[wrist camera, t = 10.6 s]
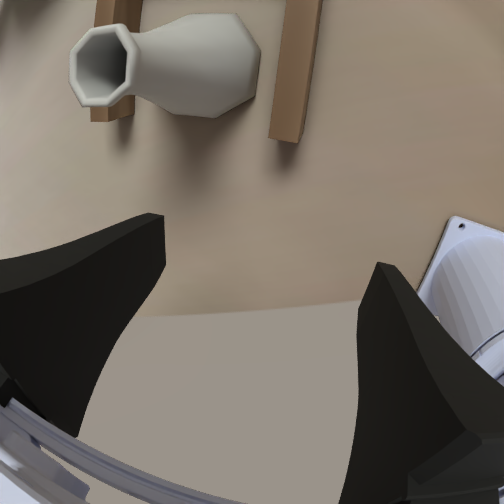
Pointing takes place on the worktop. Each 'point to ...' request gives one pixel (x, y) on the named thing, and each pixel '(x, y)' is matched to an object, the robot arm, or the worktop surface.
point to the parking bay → (288, 74)
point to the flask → (169, 65)
